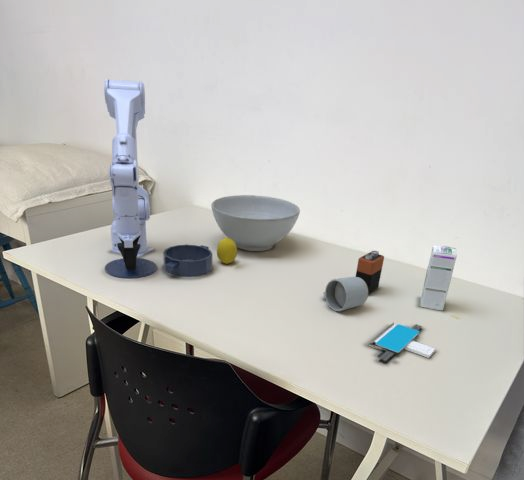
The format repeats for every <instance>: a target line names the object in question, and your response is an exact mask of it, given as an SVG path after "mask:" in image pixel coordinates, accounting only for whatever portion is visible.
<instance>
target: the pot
mask: <svg viewBox="0 0 524 480" xmlns="http://www.w3.org/2000/svg"><path fill="white" fill-rule="evenodd" d="M162 257H163V258H162V259H163V269H164V271H165V272H166V273H167V274H170V275H173V276H176V277H183V278H193V277H196V278H197V277H201V276H205V275H207V274H209V273H211V272H212V269H213V252H212V250H211V249H210V247H209V246H207V245H202V244H201V245H196V244H178V245H173V246H169V247H166V248H165V249H164V250H163V252H162Z"/></svg>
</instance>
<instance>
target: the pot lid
mask: <svg viewBox="0 0 524 480" xmlns="http://www.w3.org/2000/svg"><path fill="white" fill-rule="evenodd" d="M157 269H158V265H157V263H155V262H154V261H152V260H150V259H145V258H141V257H137V259H136V267H135V270H127V269H126V267H125V263H124V259H123V258H117V259H114V260H112V261H109V262H107V263H106V264H105V266H104V271H105V273H106V274H107V275H108V276H112V277H114V278H119V279H140V278H145V277H149V276H150V275H153V274H154V273H156V272H157Z"/></svg>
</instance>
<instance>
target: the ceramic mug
mask: <svg viewBox="0 0 524 480" xmlns="http://www.w3.org/2000/svg"><path fill="white" fill-rule="evenodd" d="M322 294H323V299H325V301H326V304H327V306H328V307H329V308H330V309H331V310H333V311H335V312H342V311H345V310H349V309H352V308H356V307H360V306H362V305H363V304H364V303H366V301H367V300H368V298H369V294H368V286H367V284H366V282H365V281H364V280H363V279H361V278H359V277H356V276H348V277H341V278H333V279H331V280H330V281H328V282H327V284H326V286H325V289H324V291H323V293H322Z"/></svg>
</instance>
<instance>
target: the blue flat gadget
mask: <svg viewBox="0 0 524 480" xmlns="http://www.w3.org/2000/svg"><path fill="white" fill-rule="evenodd" d="M422 330H423V326H422V325H420V324H417V323H415V325H413V326H412V327H408V326H406V325H402V324H400V323H399V324H395V322H392V323H391V324H389V325H388V326H387V327H386V328H385V329H384V330H382V331H381V332H380V333H379V334H377V335H376V337H374V338H373V339H372V340H371V342H370V343H368V345H367V347H370V348H373V349H375V350H378V351H381V352H380V353H379V354H378V355H377V357H378V358H379V360H378V362H381V363H383V364H387V363H388V362H389V361H391V360H392V359H393V358H394V357H395V356H396V355H397V354H398V353H400V352H403V351H404V350H406V351H408V352H412V353H414V354H416V355H419V356H422V357H424V358H428V359H429V358H430V357H431V356H432V355H433V354H434V353H435V352H436V348H435V347H432V346H429V345H426V344H423V343H421V342H418V341H415V339H416V337H417V336H418V335H419V334H420V333H421V331H422Z"/></svg>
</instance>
